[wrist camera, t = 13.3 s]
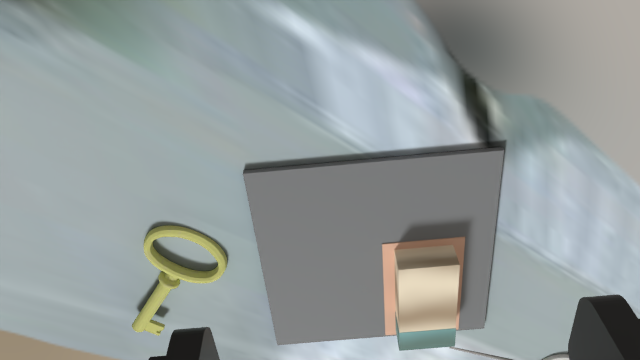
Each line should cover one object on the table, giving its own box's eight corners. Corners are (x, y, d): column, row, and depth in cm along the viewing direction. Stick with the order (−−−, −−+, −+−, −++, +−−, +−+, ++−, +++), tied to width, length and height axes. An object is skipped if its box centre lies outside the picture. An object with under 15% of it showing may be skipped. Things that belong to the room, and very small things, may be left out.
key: (135, 317, 52) (129, 334, 51) (148, 216, 46) (142, 232, 44) (211, 329, 54) (208, 346, 52) (234, 232, 47) (231, 249, 45)
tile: (393, 249, 47) (398, 270, 45) (453, 244, 47) (460, 264, 45) (395, 328, 53) (399, 350, 51) (448, 324, 53) (454, 346, 50)
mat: (277, 341, 54) (277, 345, 54) (243, 170, 43) (242, 174, 42) (482, 324, 54) (484, 329, 53) (502, 146, 42) (504, 150, 42)
